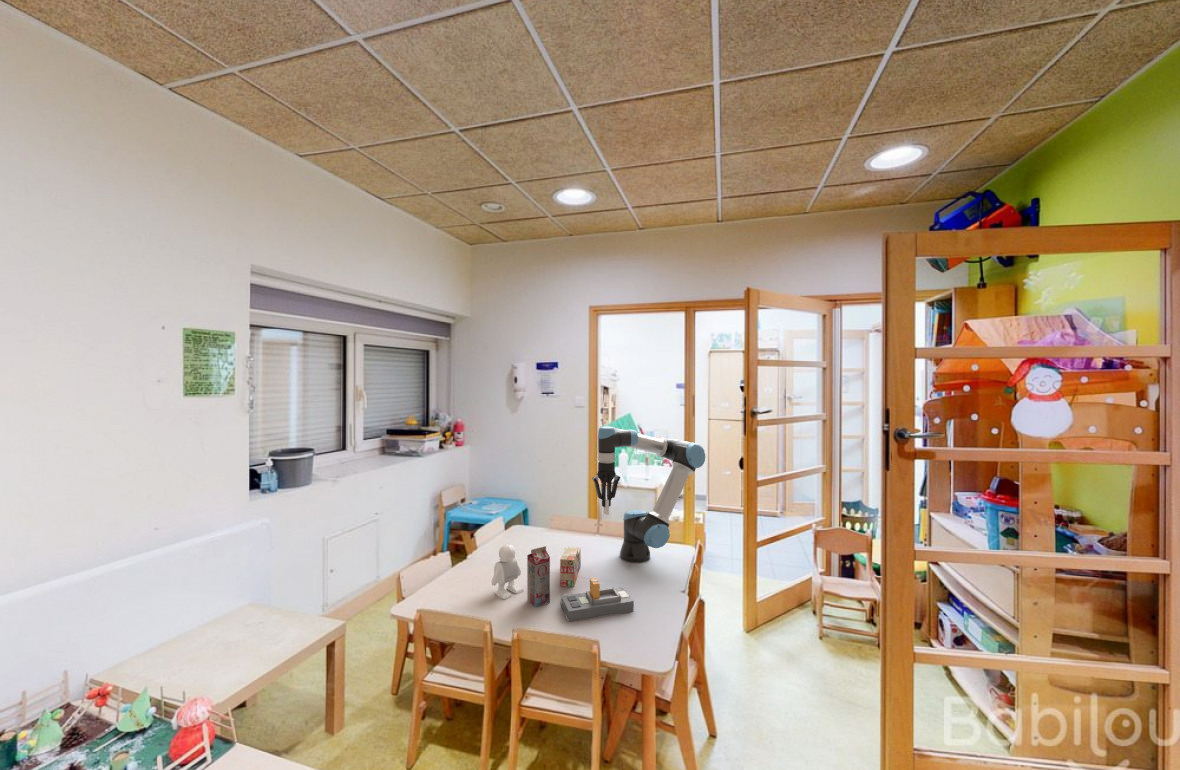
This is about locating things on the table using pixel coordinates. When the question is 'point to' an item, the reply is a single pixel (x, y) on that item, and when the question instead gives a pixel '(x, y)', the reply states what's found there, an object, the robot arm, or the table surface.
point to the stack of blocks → (570, 566)
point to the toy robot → (506, 572)
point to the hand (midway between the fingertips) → (606, 513)
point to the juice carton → (538, 577)
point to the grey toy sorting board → (596, 604)
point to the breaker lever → (594, 588)
